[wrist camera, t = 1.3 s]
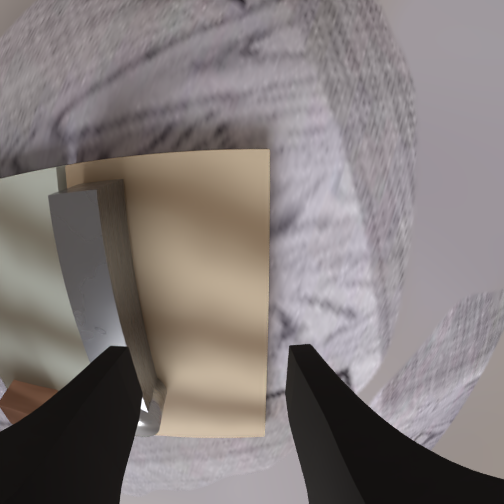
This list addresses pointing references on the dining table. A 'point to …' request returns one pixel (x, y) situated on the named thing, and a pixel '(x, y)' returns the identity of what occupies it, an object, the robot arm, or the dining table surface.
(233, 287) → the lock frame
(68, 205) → the bar
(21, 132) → the dining table surface
